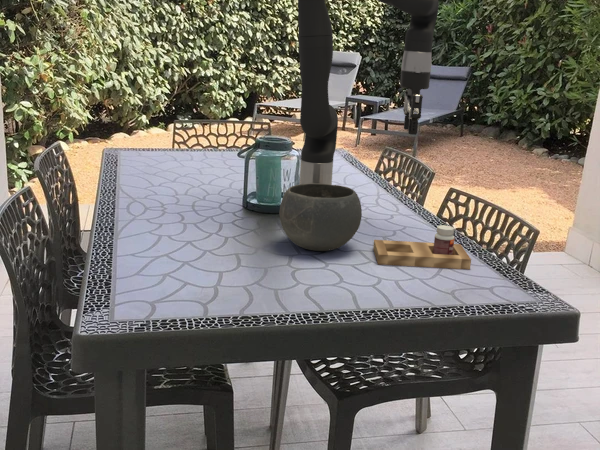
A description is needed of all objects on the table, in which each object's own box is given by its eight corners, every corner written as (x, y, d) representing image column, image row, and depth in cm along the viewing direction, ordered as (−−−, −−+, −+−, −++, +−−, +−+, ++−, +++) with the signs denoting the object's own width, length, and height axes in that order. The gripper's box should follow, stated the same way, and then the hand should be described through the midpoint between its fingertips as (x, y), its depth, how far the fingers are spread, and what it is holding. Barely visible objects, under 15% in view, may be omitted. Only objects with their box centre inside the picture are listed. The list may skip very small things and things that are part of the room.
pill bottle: (451, 264, 168) (455, 231, 166) (432, 261, 169) (435, 229, 167) (451, 258, 173) (455, 225, 170) (432, 256, 174) (435, 223, 171)
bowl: (369, 244, 180) (374, 187, 176) (340, 266, 162) (345, 204, 158) (299, 231, 188) (302, 177, 184) (264, 251, 170) (266, 191, 166)
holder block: (377, 264, 165) (378, 254, 164) (373, 249, 176) (373, 239, 176) (470, 269, 165) (471, 259, 164) (459, 253, 177) (460, 244, 176)
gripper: (398, 67, 187) (392, 127, 191) (405, 70, 173) (399, 135, 177) (425, 68, 187) (419, 129, 191) (435, 72, 173) (428, 136, 177)
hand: (410, 131), depth 184 cm, fingers open, 8 cm apart
